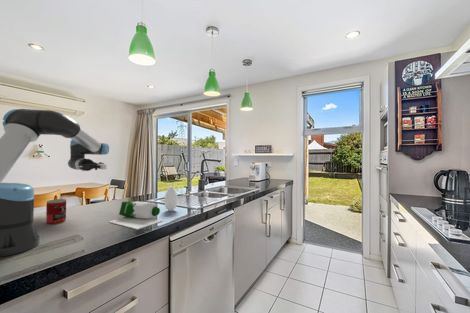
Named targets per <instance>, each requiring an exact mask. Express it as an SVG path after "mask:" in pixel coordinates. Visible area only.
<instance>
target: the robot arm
mask: <svg viewBox="0 0 470 313" xmlns="http://www.w3.org/2000/svg"><path fill="white" fill-rule="evenodd" d="M2 120H3V121H2V125H3V130H4V133H3V134H2V136H1V137H0V258H3V257H7V256H12V255H17V254H19V253H23V252H26V251H29V250H31V249H33V248H35V247H37V246H38V245H39V244H40V236H39V234H38V232H37V229H36V226H35V224H34V208H35V207H34V206H35V197H36V196H35V190H34V189H35V188H34V187H33V186H32V185H30V184H28V183H18V182H3V181H4V179H5V178H6V176H7V175H8V173H9V172H10V171H11V169H12V168H13V167H14V166H15V164H16V163H17V161H18V160H19V158H20V157H21V155H22V154H23V152H24V151H25V149H26V148H27V147H28V146H29V144H30V143H33V142H35V141H37V140H38V139H39V137H40V136H41V135H49V136H50V135H56V136H61V137H63V138H66V139H71V140H70V142H69V143H70V144H69V145H70V146H69V147H70V148H69V149H70V153H69V154H70V158H69V160H68V162H67V166H68V167H69V168H70V169H71V170H72V169H73V170H76V171H77V170H78V171H79V170H80V171H82V172H89V171H91V170H94V171H97V170H107V164H105V163H104V162H102V161H100V162H98V163H97V162H94V161H93V160H92V159H90V158H86V155H94V156H95V155H96V156H97V155H99V156H100V155H101V156H103V155H104V156H105V155H108V154H109V152H110V146H109V144H108V143H107V142H106V143H103V142H100V141H99V140H98V139H96V138H95V137H93V136H92V135H91V134H89V133H88V132H86V131H85V130H84V129H82V127H81V125H80V124H79V122H77V121H75V120H74V118H71V117H69V116H67V114H63V113H61V112H59V111H55V110H52V109H51V110H49V109H48V110H47V109H45V110H44V109H29V108H28V109H27V108H19V109H18V108H17V109H15V108H14V109H11V110H9V111H7V112H6V113H5V114H4V116H3V118H2Z"/></svg>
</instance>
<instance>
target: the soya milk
mask: <svg viewBox="0 0 470 313" xmlns="http://www.w3.org/2000/svg"><path fill="white" fill-rule="evenodd" d="M158 206H159V205H158V204H156V203H153V202H146V201H137V200H134V201H133V200H132V201H131V200H130V201H122V202H121V206H120V209H119V213H118V215H120V216H122V217H123V216H124V217H131V218H141V219H152V218H153V219H156V216H158V215H159V214H160V211H161V209H160V207H158Z"/></svg>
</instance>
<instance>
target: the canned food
mask: <svg viewBox="0 0 470 313" xmlns="http://www.w3.org/2000/svg"><path fill="white" fill-rule="evenodd" d="M45 212H46V216H45V217H46V219H45V221H46V224H47V225H58V224H61V223H64V222H66V219H67V199H66V198H65V199H64V198H58V199H57V198H56V199H55V198H54V199H49V200H46V211H45Z"/></svg>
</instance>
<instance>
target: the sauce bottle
mask: <svg viewBox="0 0 470 313" xmlns="http://www.w3.org/2000/svg"><path fill="white" fill-rule="evenodd" d="M172 185H173V184H172V182H171V183H170V186H169V187H168V189H167V190H166V192H165V196H164V199H163V200H164V201H163V203H164V207H165V209H166V210H167V211H169V212H173V211H174V210H175V209H176V208H177V206H178V194H177V191H176V189H175V188H174V186H172Z"/></svg>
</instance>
